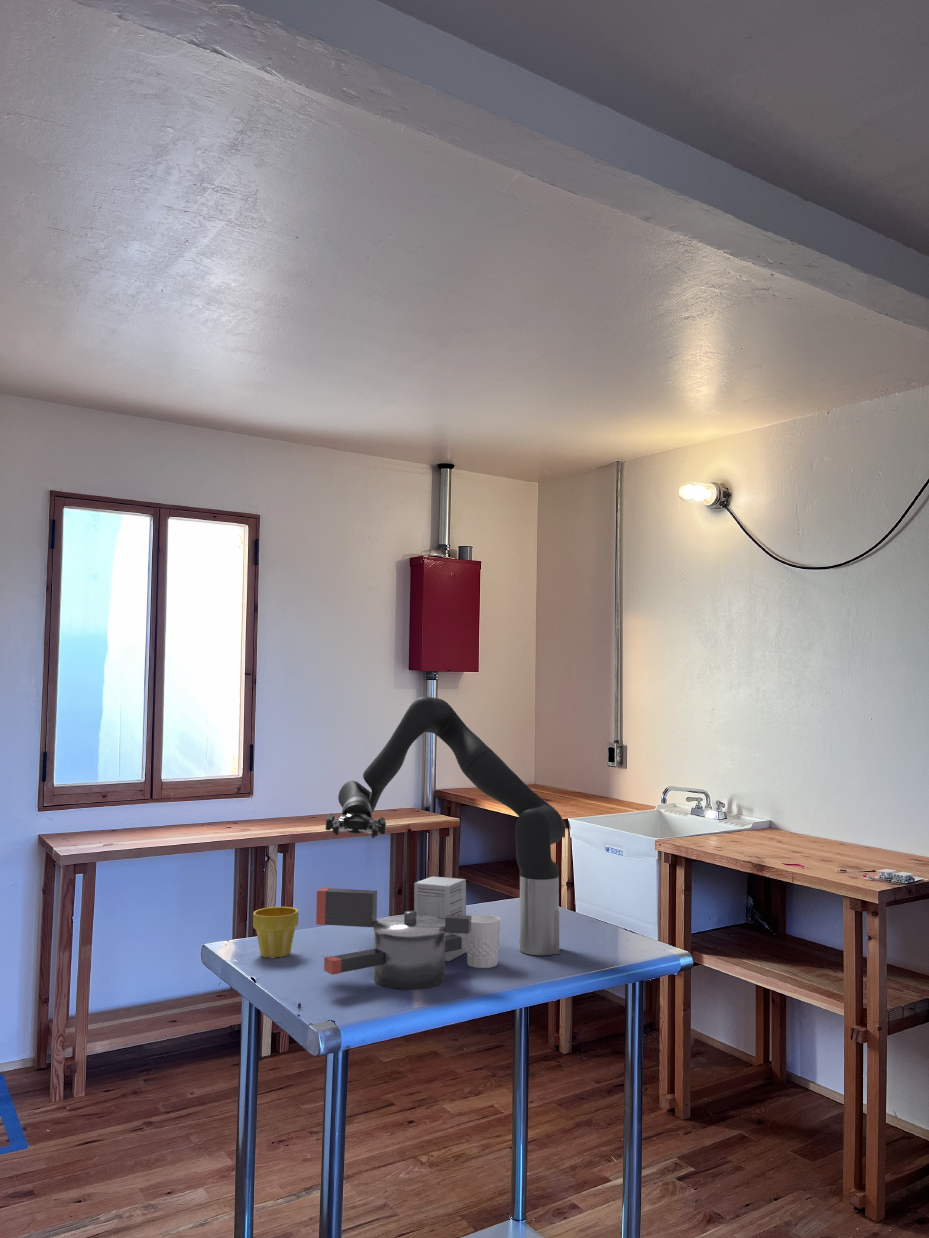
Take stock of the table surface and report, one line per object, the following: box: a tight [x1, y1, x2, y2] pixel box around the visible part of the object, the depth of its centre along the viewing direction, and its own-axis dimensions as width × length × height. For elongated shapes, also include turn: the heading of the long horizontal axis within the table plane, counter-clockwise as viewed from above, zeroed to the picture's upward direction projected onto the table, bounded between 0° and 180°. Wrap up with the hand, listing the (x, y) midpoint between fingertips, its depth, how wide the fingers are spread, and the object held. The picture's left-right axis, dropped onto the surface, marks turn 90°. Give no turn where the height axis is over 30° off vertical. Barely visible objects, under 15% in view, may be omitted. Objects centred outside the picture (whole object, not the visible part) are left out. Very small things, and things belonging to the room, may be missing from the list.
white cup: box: [466, 913, 501, 969], centre depth 205 cm, size 8×8×10 cm
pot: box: [323, 932, 462, 991], centre depth 191 cm, size 27×23×10 cm
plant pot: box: [252, 906, 299, 959], centre depth 211 cm, size 10×10×10 cm
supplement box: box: [413, 876, 467, 962], centre depth 212 cm, size 10×9×17 cm
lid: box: [315, 887, 471, 938], centre depth 195 cm, size 33×16×7 cm, turn 79°
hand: (355, 832), depth 214 cm, fingers open, 8 cm apart
